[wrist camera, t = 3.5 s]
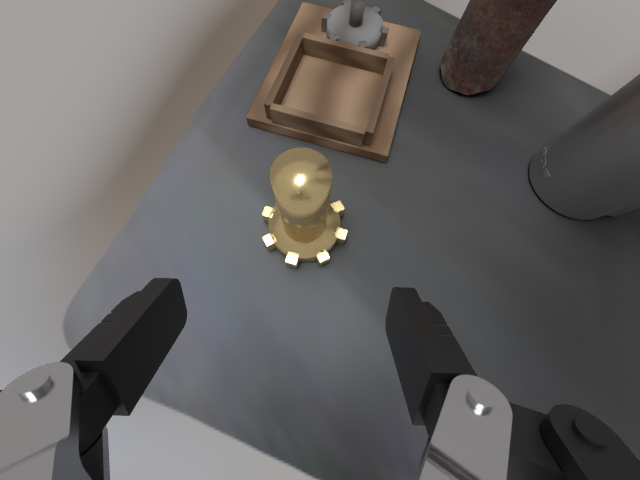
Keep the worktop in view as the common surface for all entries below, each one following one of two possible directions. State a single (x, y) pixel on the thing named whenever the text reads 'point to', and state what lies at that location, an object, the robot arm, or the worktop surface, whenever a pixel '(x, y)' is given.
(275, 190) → the gear shaft
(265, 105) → the gear board
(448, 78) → the candle
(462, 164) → the worktop surface
